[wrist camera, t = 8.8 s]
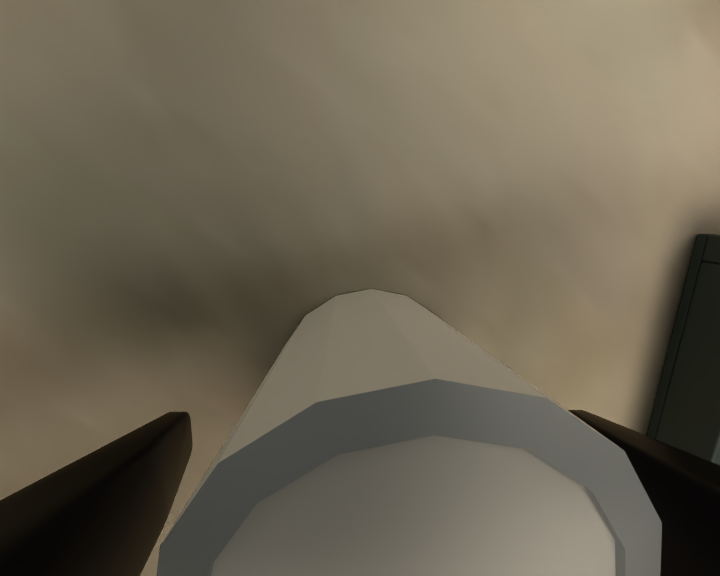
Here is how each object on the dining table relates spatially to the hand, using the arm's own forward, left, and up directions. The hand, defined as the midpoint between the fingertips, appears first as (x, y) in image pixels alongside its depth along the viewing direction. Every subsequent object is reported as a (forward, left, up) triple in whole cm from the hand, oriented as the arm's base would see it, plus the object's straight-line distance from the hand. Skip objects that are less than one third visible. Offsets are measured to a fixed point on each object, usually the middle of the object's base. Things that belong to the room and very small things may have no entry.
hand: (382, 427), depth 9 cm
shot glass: (0, 0, -3) cm, 3 cm away
